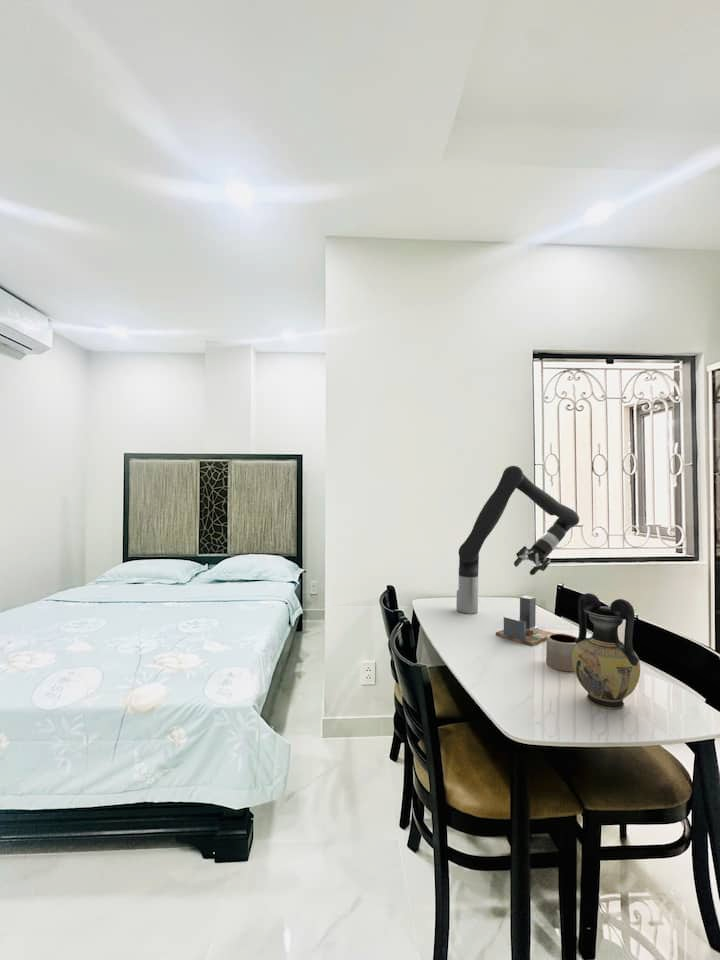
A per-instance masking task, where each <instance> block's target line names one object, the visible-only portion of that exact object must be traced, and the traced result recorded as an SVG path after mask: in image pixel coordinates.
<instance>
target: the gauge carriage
mask: <svg viewBox="0 0 720 960" xmlns="http://www.w3.org/2000/svg"><path fill="white" fill-rule="evenodd" d="M536 598H537V597H535V596H529V595H523V596H520V597H519V620H521V621H525V622H526V634H528V635H534V633H537V632H538V629H539V627H538V626H536V610H537V609H536V606H537V605H536V602H537V599H536Z"/></svg>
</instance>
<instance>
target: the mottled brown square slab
mask: <svg viewBox="0 0 720 960" xmlns="http://www.w3.org/2000/svg"><path fill="white" fill-rule="evenodd" d="M553 633H554V632H551V631H546V630H543V629H539V628H538V632H537V633H534V635H528V634H526V640H521V639H517V638H514V637H511V636H507V635H504V629H501V630H499V631H496V632H495V636H498V637H500V638H504V639H507V640H511V641H515V642H517V643H520V644H525V645H528V646H531V647H533V646H536V645H539V644H541V643H543V642H547V635H548V634H553Z"/></svg>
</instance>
